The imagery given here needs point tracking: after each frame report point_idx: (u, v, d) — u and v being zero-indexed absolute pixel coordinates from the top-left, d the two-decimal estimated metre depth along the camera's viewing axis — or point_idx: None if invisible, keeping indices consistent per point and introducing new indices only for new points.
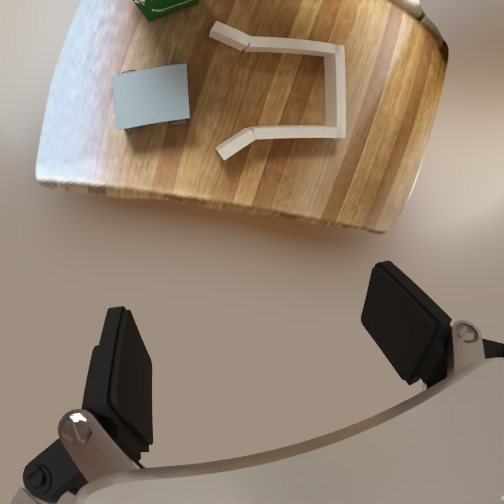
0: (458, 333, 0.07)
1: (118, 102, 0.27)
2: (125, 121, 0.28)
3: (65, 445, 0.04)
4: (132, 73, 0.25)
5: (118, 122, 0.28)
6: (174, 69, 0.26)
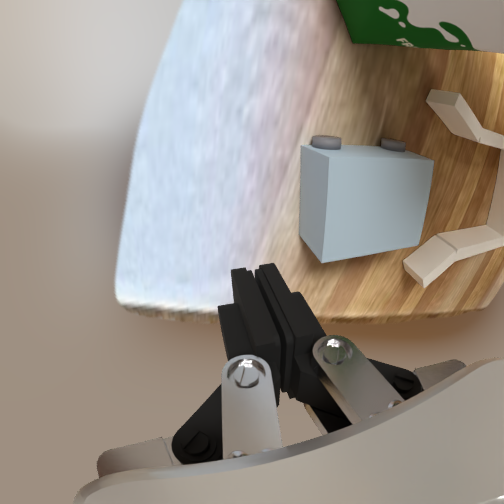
0: (324, 357, 0.07)
1: (334, 214, 0.17)
2: (339, 249, 0.18)
3: (238, 392, 0.06)
4: (365, 160, 0.15)
5: (328, 250, 0.18)
6: (420, 167, 0.16)
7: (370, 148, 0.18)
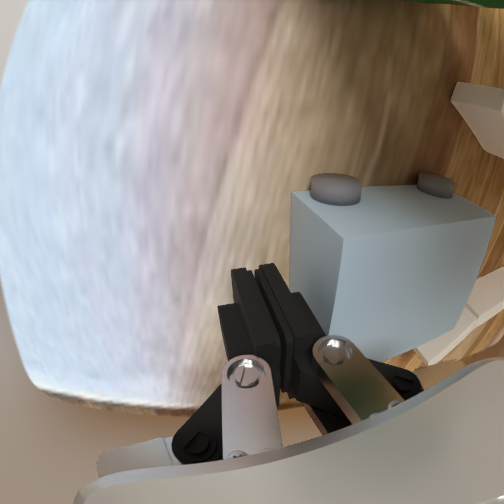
0: (324, 357, 0.07)
1: (344, 326, 0.09)
2: None
3: (238, 392, 0.06)
4: (408, 235, 0.08)
5: None
6: (480, 230, 0.09)
7: (404, 194, 0.11)
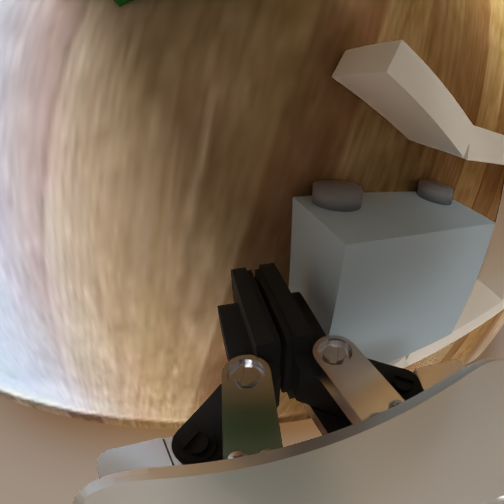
0: (324, 357, 0.07)
1: (344, 330, 0.09)
2: None
3: (238, 392, 0.06)
4: (408, 241, 0.08)
5: None
6: (478, 237, 0.09)
7: (405, 200, 0.11)
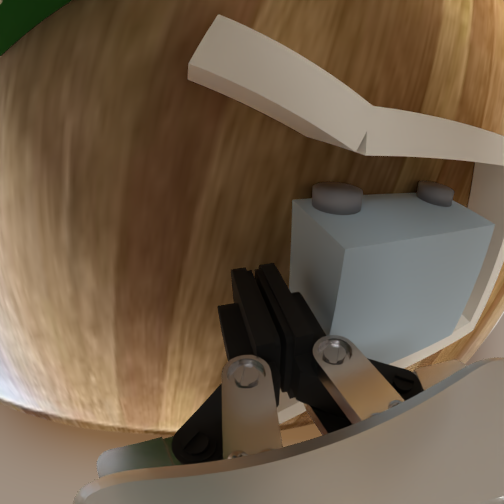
0: (324, 357, 0.07)
1: (344, 333, 0.10)
2: None
3: (238, 392, 0.06)
4: (408, 245, 0.08)
5: None
6: (478, 239, 0.09)
7: (404, 202, 0.11)
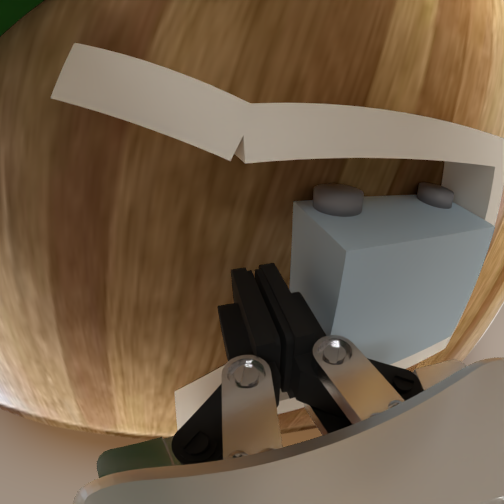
0: (324, 357, 0.07)
1: (344, 335, 0.10)
2: None
3: (238, 392, 0.06)
4: (408, 247, 0.08)
5: None
6: (478, 240, 0.09)
7: (405, 204, 0.11)
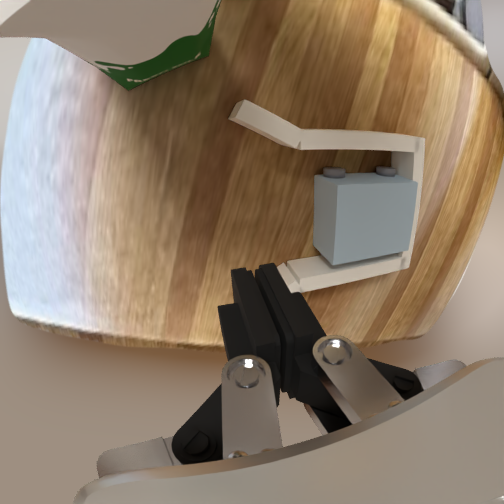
0: (324, 357, 0.07)
1: (342, 227, 0.22)
2: (346, 254, 0.24)
3: (238, 392, 0.06)
4: (364, 186, 0.21)
5: (337, 254, 0.23)
6: (407, 188, 0.22)
7: (367, 175, 0.24)
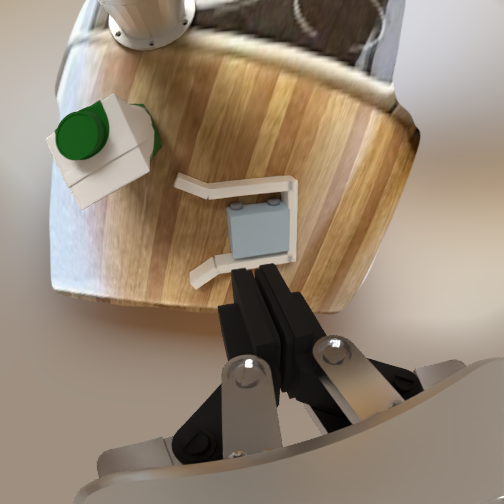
0: (324, 357, 0.07)
1: (236, 238, 0.42)
2: (241, 253, 0.44)
3: (238, 392, 0.06)
4: (247, 216, 0.41)
5: (235, 253, 0.43)
6: (280, 214, 0.42)
7: (259, 205, 0.44)
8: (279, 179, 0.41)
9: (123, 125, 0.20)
